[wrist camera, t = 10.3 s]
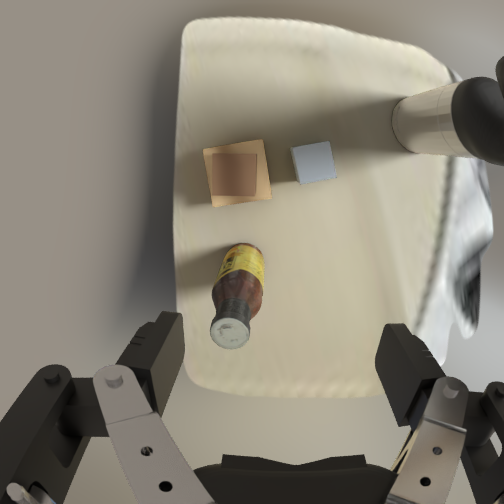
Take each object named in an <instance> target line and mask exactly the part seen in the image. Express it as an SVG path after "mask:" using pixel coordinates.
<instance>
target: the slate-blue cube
mask: <svg viewBox="0 0 504 504" xmlns="http://www.w3.org/2000/svg"><path fill="white" fill-rule="evenodd" d="M290 151H291V156H292V160H293V165H294V169H295V174H296V179H297V182H298V183H299V184H300V185H301V184H306V183H311V182H316V181H321V180H326V179H332V178H337V176H336V170H335V165H334V160H333V155H332V150H331V146H330V141H325V142H320V143H314V144H308V145H303V146H298V147H292V148H290Z"/></svg>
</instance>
